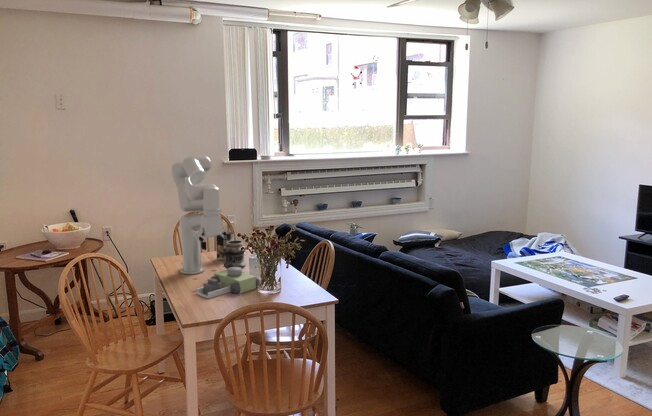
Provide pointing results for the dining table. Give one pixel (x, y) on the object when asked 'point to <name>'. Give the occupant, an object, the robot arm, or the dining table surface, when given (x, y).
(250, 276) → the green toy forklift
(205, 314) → the dining table surface
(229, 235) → the coffee box
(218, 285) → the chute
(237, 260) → the apothecary jar
